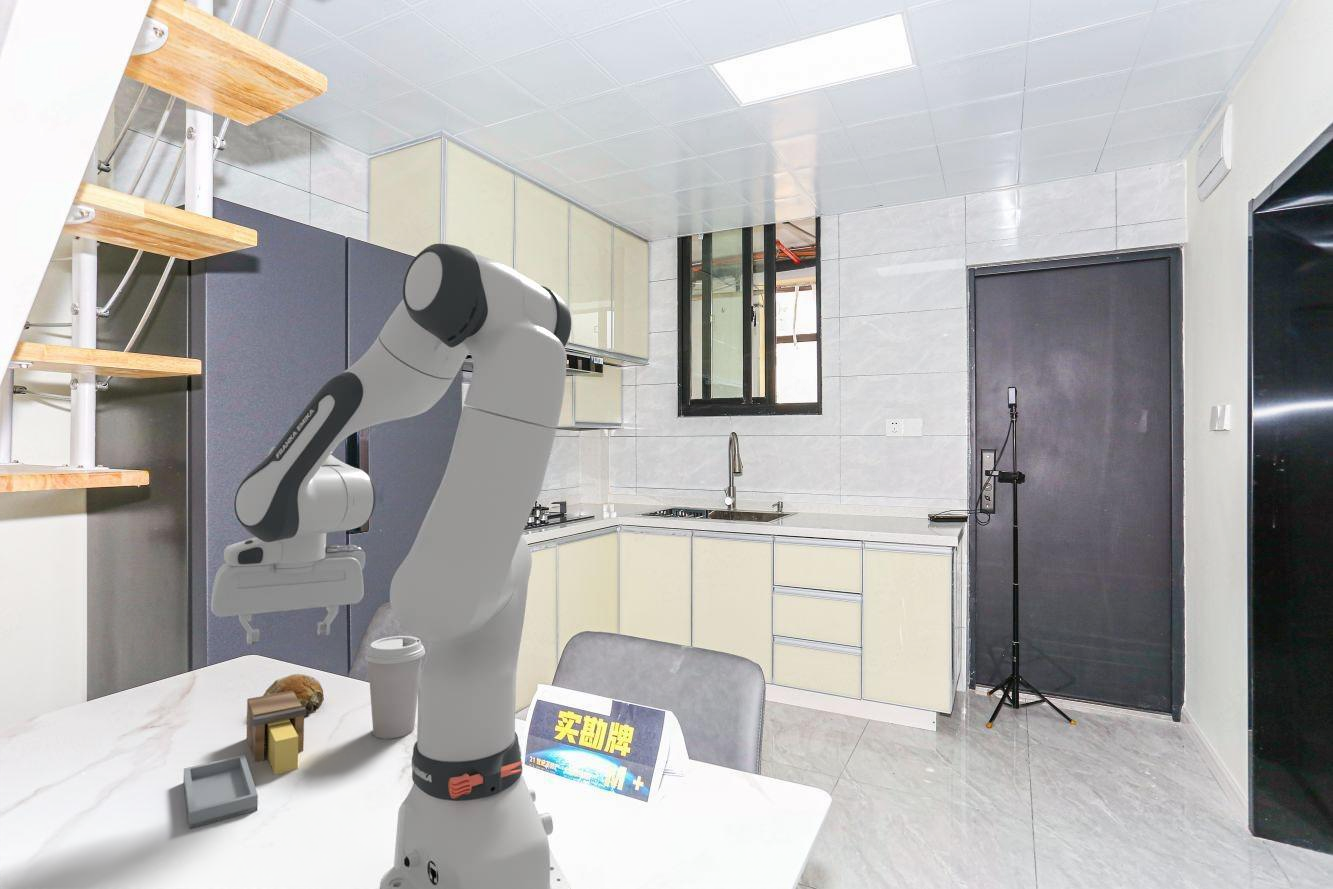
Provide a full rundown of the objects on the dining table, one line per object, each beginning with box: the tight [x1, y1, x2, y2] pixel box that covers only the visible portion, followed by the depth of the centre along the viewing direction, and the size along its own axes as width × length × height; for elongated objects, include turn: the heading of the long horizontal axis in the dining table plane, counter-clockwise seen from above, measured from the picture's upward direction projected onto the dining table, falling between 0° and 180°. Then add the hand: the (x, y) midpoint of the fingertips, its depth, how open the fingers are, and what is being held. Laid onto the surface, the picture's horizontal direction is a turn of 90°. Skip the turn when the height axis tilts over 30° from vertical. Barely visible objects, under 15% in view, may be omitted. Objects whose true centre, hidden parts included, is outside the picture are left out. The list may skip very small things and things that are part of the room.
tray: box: [183, 754, 259, 830], centre depth 93 cm, size 14×7×2 cm, turn 38°
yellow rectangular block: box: [264, 719, 299, 775], centre depth 104 cm, size 10×3×5 cm, turn 38°
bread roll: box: [262, 673, 325, 716], centre depth 123 cm, size 10×10×8 cm
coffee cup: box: [364, 635, 426, 740], centre depth 115 cm, size 10×10×15 cm
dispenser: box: [246, 691, 307, 763], centre depth 109 cm, size 10×7×6 cm
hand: (289, 638), depth 102 cm, fingers open, 8 cm apart
